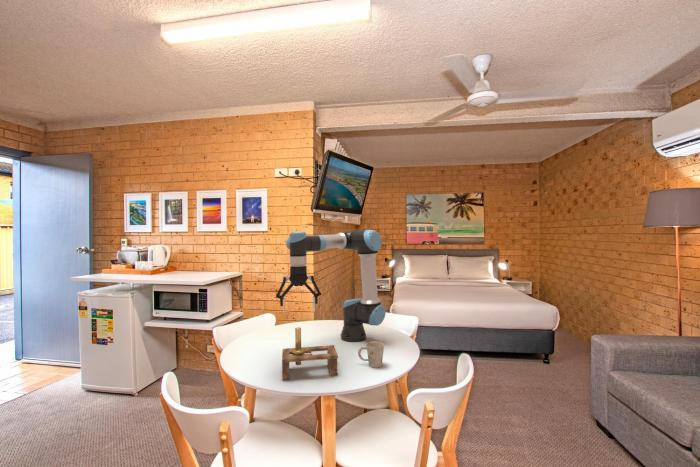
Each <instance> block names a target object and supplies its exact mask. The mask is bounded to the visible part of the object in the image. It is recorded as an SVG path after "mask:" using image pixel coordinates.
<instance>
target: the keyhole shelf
mask: <svg viewBox="0 0 700 467" xmlns="http://www.w3.org/2000/svg"><path fill="white" fill-rule="evenodd" d="M301 347H302V346H301ZM293 348H294V347H290V348H282V350H281V351H282V352H281V354H282V355H281V370H282V371H281V374H282V375H281V376H282V378H281V380H282V381H289V380H290V363H295V362H298V361H301V362H308V361H320V360H323V361H324V360H327V368H328V371H329V375H330V376H331V377H332V376H338V359H339V355H338V351H337V349H336V347H335V345H334V344H329V345H316V346H304V347H302V348H305V353H304V354H303V355H292V349H293ZM321 351H322V352H324V351H325V352H326V353H318V354H317V353H316V354H313V353H312V352H321Z"/></svg>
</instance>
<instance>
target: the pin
mask: <svg viewBox="0 0 700 467" xmlns="http://www.w3.org/2000/svg"><path fill="white" fill-rule="evenodd" d="M294 332H295V334H294V342H295V345H294V346H295V347H292V348H293V349H292V355H303V354H304V353H305V348H302V327H299V326H298V327H295V328H294ZM305 354H306V353H305ZM294 363H295V366H301V365H302V361H298V362H294Z"/></svg>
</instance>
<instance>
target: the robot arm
mask: <svg viewBox="0 0 700 467" xmlns="http://www.w3.org/2000/svg"><path fill="white" fill-rule="evenodd" d="M285 246H286V248H287V249H288V250H289V265H290V266H289V276H283V277H282V282H281V285H280V287H279V289H278V291H277V293H276V294H275V295H276V296H275V298H276V299H279V304H280V307H282V314H283V315H285V314H286V312H285V311H286V308H285V307H286V306H285V305H286V303H285V302H286V301H285V296H286V295H287V293H289V291H290V290H291V289H292V288H293V286H294V287H303V286H304V287H306V288H307V290H309V292H310V293H311V294H312V295H313V296H312V311H313V313H315V312H316V305H317V304H318V297H320V296H322V292H321V291H320V289H319V287H318V285H317V283H316V282H315V277H314V275H313V274H312V275H308V266H307V261H308V260H307V253H308V252H321V251H324V250H326V249H336V248H337V249H338V250H351V251H356V252H357V256H358V257H359V259H360V261H359V262H360V275H361V289H362V290H361V291H362V298H353V299H352V298H351V299H346V300H344V302H343V307H342V308H343V311H342V312H343V314H342V315H343V326H342V330H341V332H340V340H342V341H344V342H351V343H355V342H356V341H358V342H362V340H363V341H365V340H366V339H367V333H366V330H365V326H364V324H367V325H369V326H374V327H375V326H380V325H381V324H382V323H383V322H384V320H385V317H386V314H387V312H386V307H385V306H384V305H382V303H381V302H382V301H381V299H380V298H379V296H378V295H379V294H378V281H377V280H378V279H377V263H376V262H377V261H376V256H377V255H378V254H379V252H378V251H379V250H380V249H381V247H382V238H381V235H380V234H379V232H377V231H376V230H373V229H362V230H361V229H359V230H350V231H341V232H337V233H336V234H316V235H314V234H311V235H310V234H309V235H307V233H306V231H291V232H290V233H289V237H287V239H286V241H285ZM308 280H309V281H311V283H312V285H313V286H314V289H315V290H314V289H313V288H312V287H311V286H310V285H309V284H308V282H307V281H308ZM288 281H289V282H290V283H289V285H288V286H287V288H286V289H285V290H284V291H283V289H284V287H285V284H286V282H288ZM315 291H316V292H315ZM364 339H365V340H364ZM356 343H357V342H356Z"/></svg>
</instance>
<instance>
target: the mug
mask: <svg viewBox="0 0 700 467" xmlns="http://www.w3.org/2000/svg"><path fill="white" fill-rule="evenodd" d="M365 345H366V346H360V347H359V349H358V351H357V356H358V357H359V359H360V360H362V361H364V362H368V366H369V367H370V368H375V369H377V368H381V367H382V366H383V357H384V349H385V343H384V342H382V341H377V340H375V341H368V342H367V343H366V344H365ZM363 350H366V353H367V358H364V357H363V356H362V355H361V353H362V351H363Z"/></svg>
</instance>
